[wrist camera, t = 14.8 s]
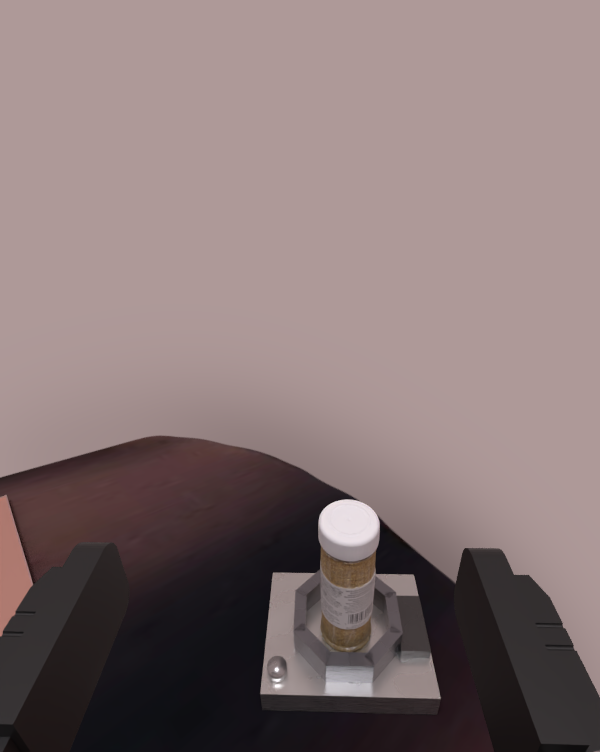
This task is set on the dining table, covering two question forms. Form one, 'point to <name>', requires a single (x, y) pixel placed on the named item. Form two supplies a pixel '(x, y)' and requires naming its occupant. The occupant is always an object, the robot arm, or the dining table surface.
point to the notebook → (11, 566)
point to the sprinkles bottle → (347, 573)
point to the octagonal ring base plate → (347, 653)
